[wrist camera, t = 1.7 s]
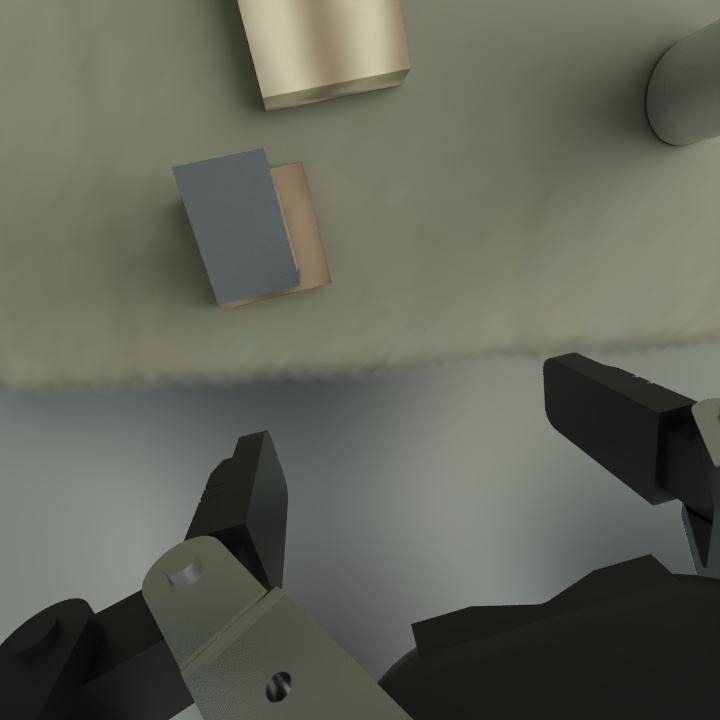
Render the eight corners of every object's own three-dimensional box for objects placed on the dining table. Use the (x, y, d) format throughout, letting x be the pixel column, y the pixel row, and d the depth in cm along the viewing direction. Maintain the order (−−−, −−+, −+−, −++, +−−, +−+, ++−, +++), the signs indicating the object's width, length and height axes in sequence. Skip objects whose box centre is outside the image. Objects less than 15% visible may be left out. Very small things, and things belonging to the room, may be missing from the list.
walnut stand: (302, 169, 34) (302, 161, 31) (329, 281, 36) (331, 283, 34) (190, 194, 33) (179, 188, 30) (227, 305, 36) (220, 310, 33)
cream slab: (372, -91, 29) (379, -129, 27) (401, 84, 33) (410, 68, 30) (220, -66, 28) (210, -102, 26) (266, 111, 32) (262, 97, 29)
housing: (276, 184, 31) (263, 148, 21) (300, 276, 33) (300, 285, 23) (215, 197, 30) (171, 167, 20) (244, 289, 33) (218, 305, 22)
